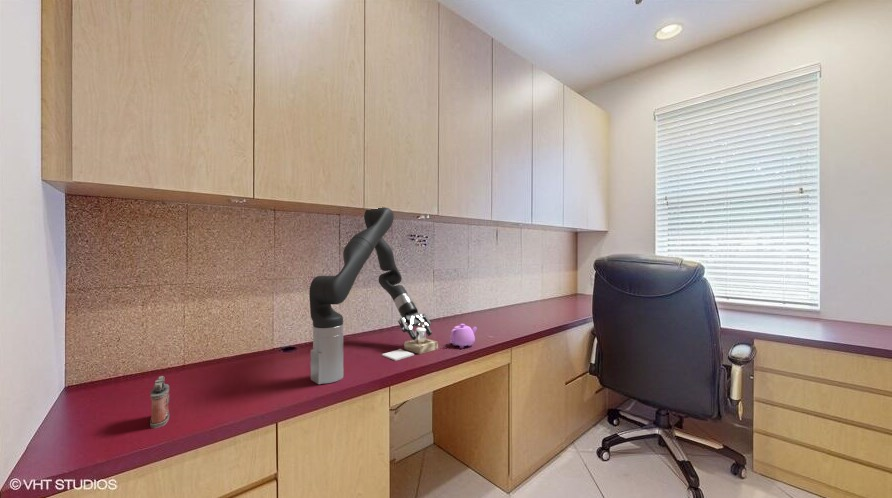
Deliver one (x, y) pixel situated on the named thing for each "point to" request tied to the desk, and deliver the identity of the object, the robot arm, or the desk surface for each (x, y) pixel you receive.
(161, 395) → the lighter
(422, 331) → the milkshake
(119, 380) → the desk surface
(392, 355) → the mat
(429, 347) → the holder
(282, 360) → the desk surface
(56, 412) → the desk surface
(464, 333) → the teapot
